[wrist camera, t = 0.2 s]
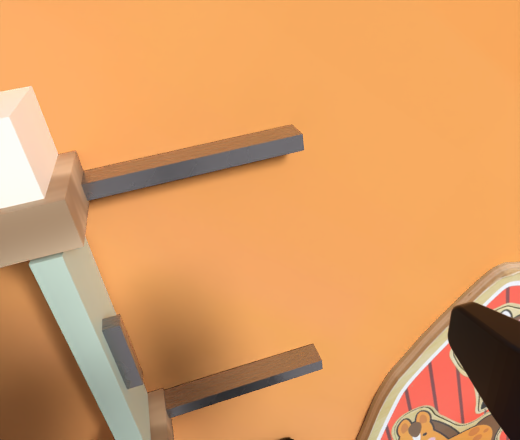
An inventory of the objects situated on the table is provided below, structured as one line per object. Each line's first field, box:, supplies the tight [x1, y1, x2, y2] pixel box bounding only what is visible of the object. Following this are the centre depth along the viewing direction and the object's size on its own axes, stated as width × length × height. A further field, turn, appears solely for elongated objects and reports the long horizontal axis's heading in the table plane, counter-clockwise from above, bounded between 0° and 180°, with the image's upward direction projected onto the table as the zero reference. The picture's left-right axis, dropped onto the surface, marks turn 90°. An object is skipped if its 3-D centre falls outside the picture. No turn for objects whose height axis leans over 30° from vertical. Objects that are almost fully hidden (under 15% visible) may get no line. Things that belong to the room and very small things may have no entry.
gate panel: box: [29, 237, 151, 440], centre depth 22 cm, size 13×2×4 cm, turn 8°
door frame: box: [0, 86, 322, 440], centre depth 23 cm, size 24×13×5 cm, turn 8°
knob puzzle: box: [356, 262, 520, 440], centre depth 38 cm, size 29×30×4 cm
